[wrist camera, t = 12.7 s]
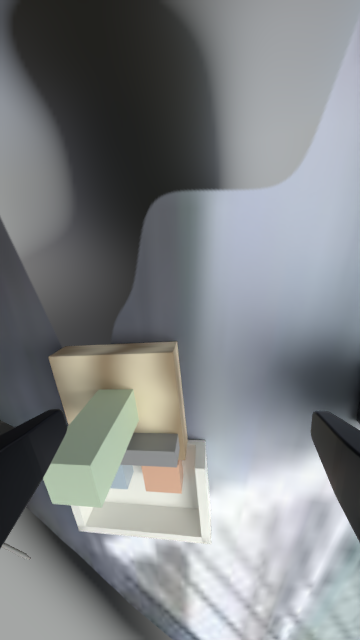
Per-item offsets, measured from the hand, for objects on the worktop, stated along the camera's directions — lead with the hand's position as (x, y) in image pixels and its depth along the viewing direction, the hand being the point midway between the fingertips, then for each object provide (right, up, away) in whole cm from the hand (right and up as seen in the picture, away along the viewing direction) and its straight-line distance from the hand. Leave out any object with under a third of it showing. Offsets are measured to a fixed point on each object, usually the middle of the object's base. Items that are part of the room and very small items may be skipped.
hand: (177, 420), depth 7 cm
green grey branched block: (-6, -6, +13) cm, 16 cm away
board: (-6, -5, +15) cm, 17 cm away
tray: (-4, -16, +18) cm, 25 cm away
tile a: (-2, -13, +16) cm, 21 cm away
